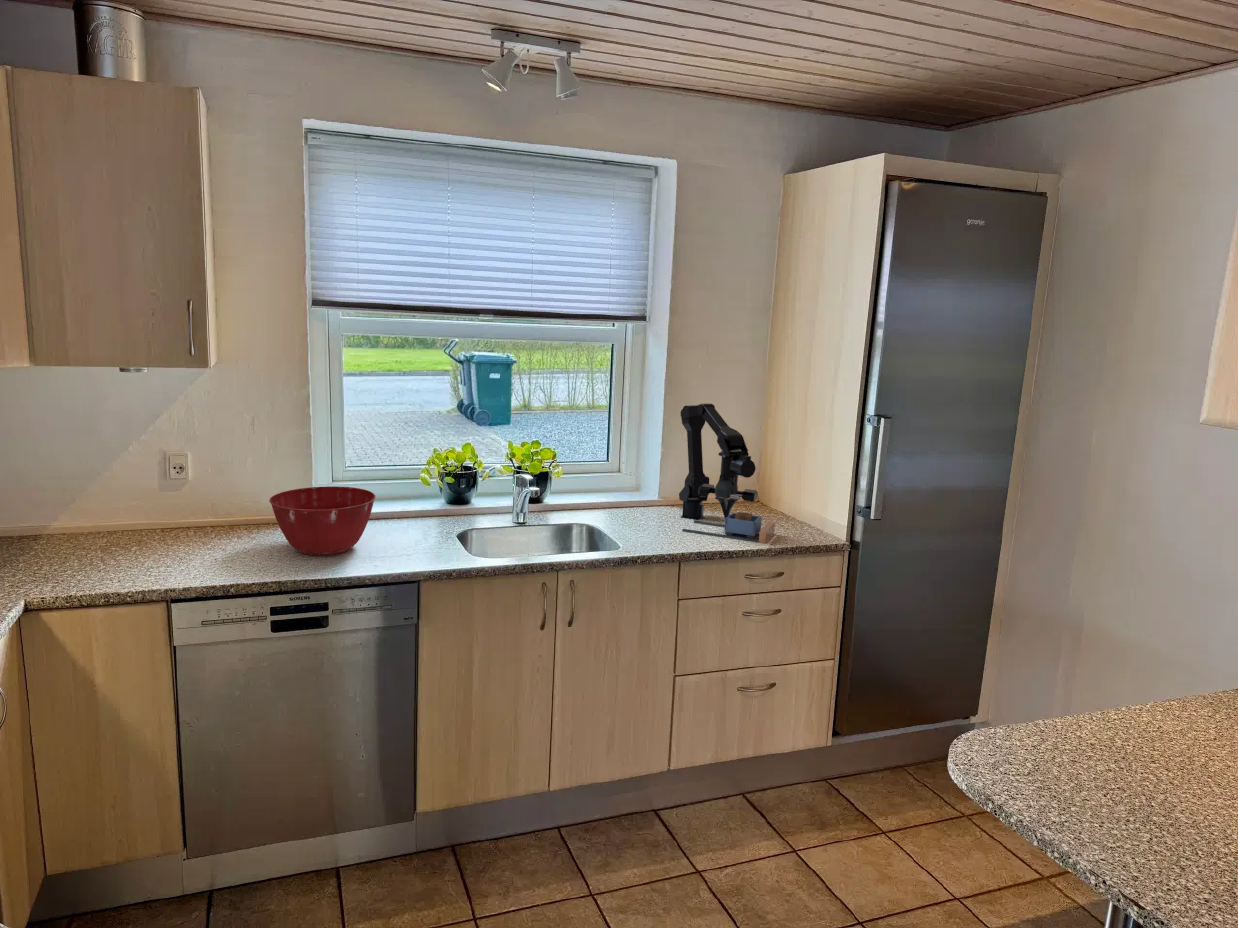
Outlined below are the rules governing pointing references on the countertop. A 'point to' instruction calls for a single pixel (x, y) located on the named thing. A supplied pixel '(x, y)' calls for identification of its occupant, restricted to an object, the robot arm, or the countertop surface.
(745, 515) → the block
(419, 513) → the countertop surface
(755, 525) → the box
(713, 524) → the track
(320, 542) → the mixing bowl
